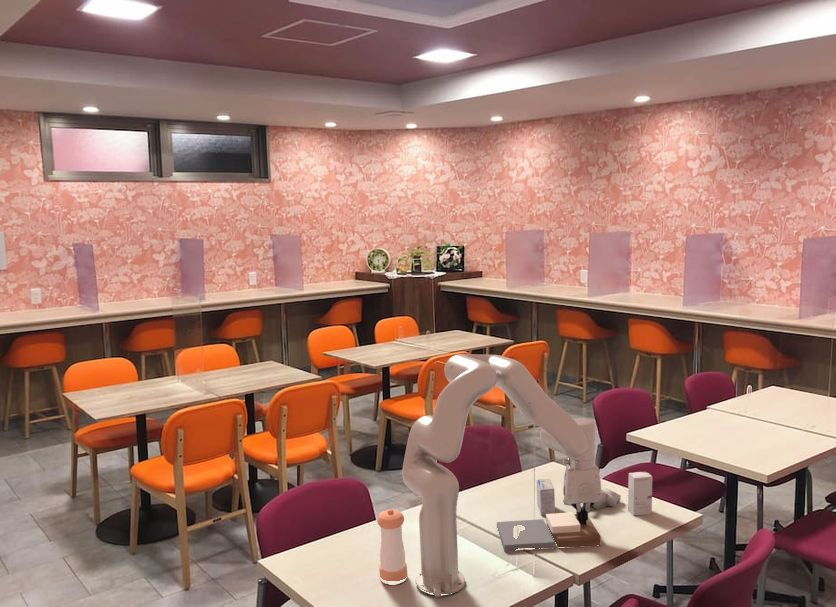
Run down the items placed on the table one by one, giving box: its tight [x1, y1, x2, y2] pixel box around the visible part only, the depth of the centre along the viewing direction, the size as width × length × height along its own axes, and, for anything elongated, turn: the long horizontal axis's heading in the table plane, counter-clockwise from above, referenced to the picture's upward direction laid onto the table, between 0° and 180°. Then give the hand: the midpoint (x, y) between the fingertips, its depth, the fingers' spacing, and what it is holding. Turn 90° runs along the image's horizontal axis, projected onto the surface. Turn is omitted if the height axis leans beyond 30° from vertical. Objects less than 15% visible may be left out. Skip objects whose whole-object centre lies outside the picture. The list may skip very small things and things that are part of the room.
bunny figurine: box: [592, 488, 622, 510], centre depth 224 cm, size 10×5×15 cm
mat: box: [496, 519, 555, 553], centre depth 206 cm, size 14×14×2 cm
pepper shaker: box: [376, 508, 408, 581], centre depth 186 cm, size 7×7×19 cm
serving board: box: [546, 513, 601, 548], centre depth 206 cm, size 14×12×3 cm
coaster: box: [545, 511, 580, 533], centre depth 206 cm, size 8×8×2 cm
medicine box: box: [536, 478, 556, 517], centre depth 222 cm, size 8×4×9 cm, turn 179°
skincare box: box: [627, 471, 653, 516], centre depth 218 cm, size 6×4×12 cm
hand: (582, 522), depth 206 cm, fingers closed
